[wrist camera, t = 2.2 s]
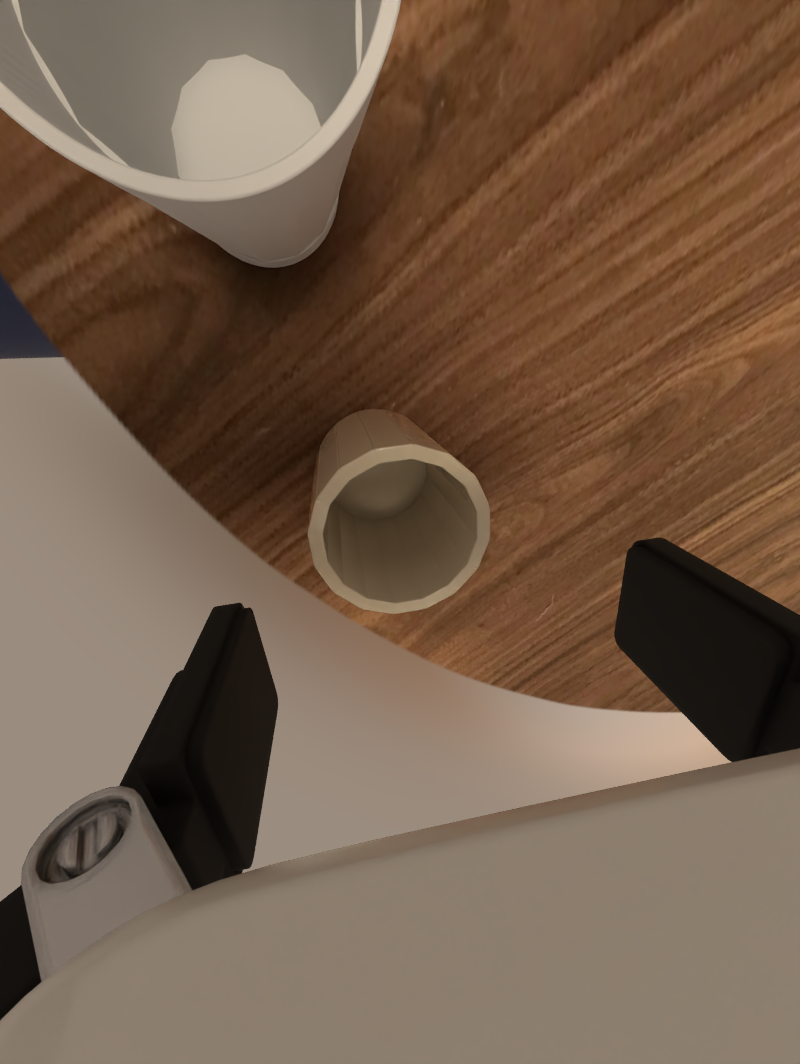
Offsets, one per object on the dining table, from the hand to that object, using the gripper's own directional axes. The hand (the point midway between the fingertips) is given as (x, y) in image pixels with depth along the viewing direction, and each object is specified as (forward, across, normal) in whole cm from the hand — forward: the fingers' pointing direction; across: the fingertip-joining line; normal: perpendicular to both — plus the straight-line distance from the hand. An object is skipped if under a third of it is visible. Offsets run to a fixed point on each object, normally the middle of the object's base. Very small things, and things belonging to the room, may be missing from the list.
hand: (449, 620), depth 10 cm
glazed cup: (+14, +1, 0) cm, 14 cm away
